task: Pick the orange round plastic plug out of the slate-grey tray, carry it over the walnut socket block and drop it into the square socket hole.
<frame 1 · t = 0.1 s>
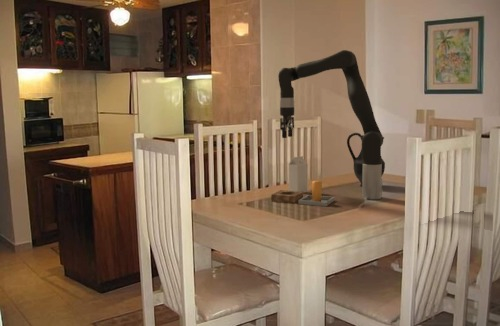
hand: (287, 137, 267), 29 cm above the table, fingers open, 8 cm apart
tray: (316, 203, 241), on the table
milk carton: (298, 192, 269), on the table
pitcher: (365, 186, 283), on the table
socket block: (287, 201, 247), on the table
plug: (316, 202, 241), point 1 cm above the table, touching tray
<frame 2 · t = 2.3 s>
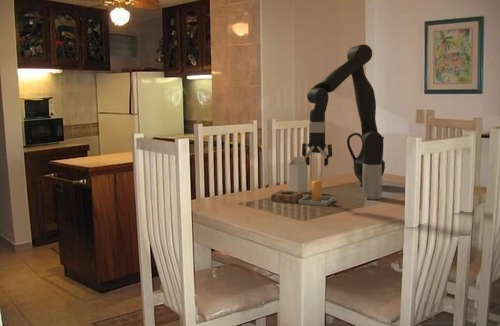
hand: (316, 165, 238), 18 cm above the table, fingers open, 8 cm apart
nothing on the table moved.
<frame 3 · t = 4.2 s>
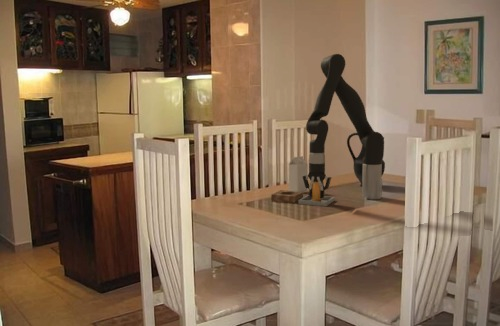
hand: (316, 197, 240), 3 cm above the table, fingers closed on plug, 4 cm apart
plug: (316, 202, 241), point 1 cm above the table, touching gripper, tray
everything else where it was.
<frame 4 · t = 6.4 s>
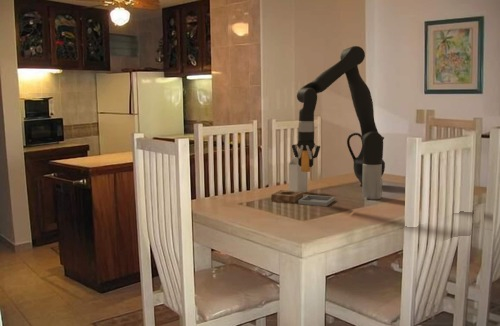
hand: (305, 166, 240), 18 cm above the table, fingers closed on plug, 4 cm apart
plug: (305, 171, 241), point 16 cm above the table, touching gripper
everything else where it was.
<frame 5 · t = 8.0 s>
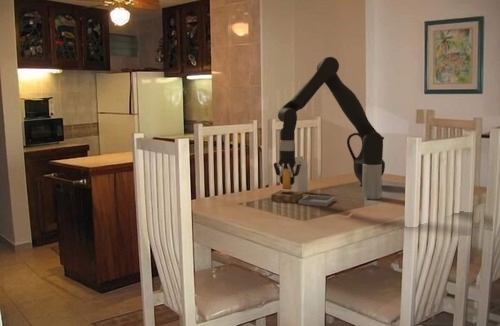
hand: (287, 183, 246), 9 cm above the table, fingers closed on plug, 4 cm apart
plug: (287, 188, 247), point 6 cm above the table, touching gripper
everything else where it was.
when the fingers open (5 cm above the table, at t = 9.0 s): plug drops 3 cm, resting in socket block.
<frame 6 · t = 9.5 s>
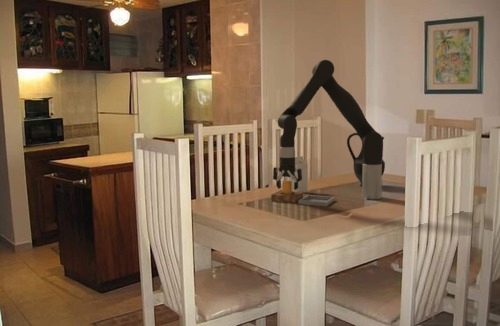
hand: (287, 189, 246), 6 cm above the table, fingers open, 8 cm apart
plug: (287, 201, 247), resting in socket block
everything else where it was.
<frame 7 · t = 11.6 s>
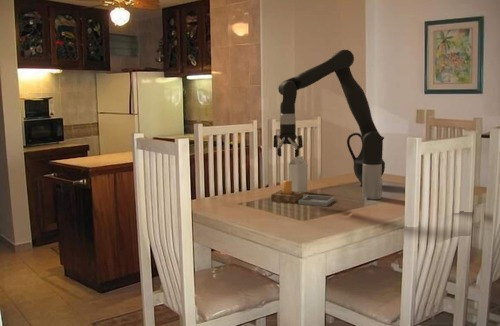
hand: (288, 156, 244), 22 cm above the table, fingers open, 8 cm apart
nothing on the table moved.
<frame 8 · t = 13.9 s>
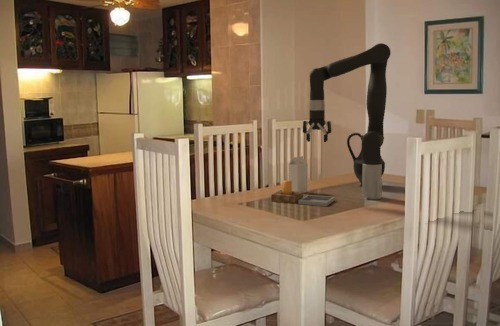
hand: (316, 141, 252), 28 cm above the table, fingers open, 8 cm apart
nothing on the table moved.
at the end: plug 0.1 cm off-centre on the socket block, point 0.0 cm above the socket block's base; plug tilted 1°; the gripper is holding nothing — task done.
